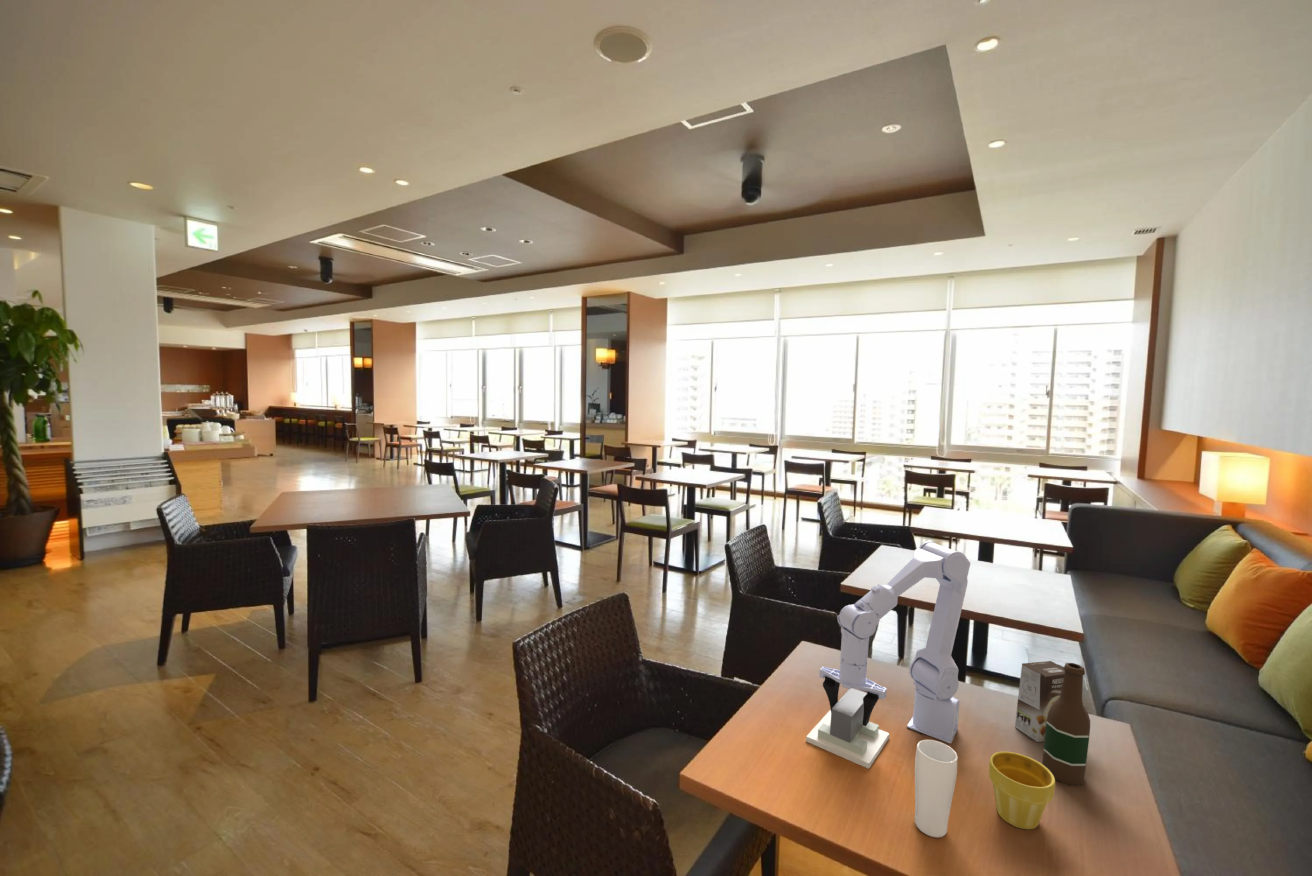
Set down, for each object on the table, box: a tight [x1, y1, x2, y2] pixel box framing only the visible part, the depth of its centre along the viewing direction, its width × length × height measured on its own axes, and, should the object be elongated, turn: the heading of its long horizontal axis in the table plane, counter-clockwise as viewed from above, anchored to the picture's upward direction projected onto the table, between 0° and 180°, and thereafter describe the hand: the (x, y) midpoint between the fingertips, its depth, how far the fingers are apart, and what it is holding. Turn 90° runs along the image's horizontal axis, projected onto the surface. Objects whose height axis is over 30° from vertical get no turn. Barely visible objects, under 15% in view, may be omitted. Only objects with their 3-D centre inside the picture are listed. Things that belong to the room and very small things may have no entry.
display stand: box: [805, 709, 890, 770], centre depth 130 cm, size 14×14×3 cm
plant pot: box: [988, 751, 1056, 830], centre depth 107 cm, size 10×10×10 cm
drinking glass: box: [914, 739, 959, 838], centre depth 104 cm, size 7×7×15 cm
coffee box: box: [1014, 660, 1065, 743], centre depth 135 cm, size 9×6×16 cm
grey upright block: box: [830, 688, 867, 743], centre depth 130 cm, size 4×12×6 cm, turn 142°
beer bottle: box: [1041, 662, 1091, 786], centre depth 120 cm, size 8×8×24 cm
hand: (849, 717), depth 129 cm, fingers open, 7 cm apart
